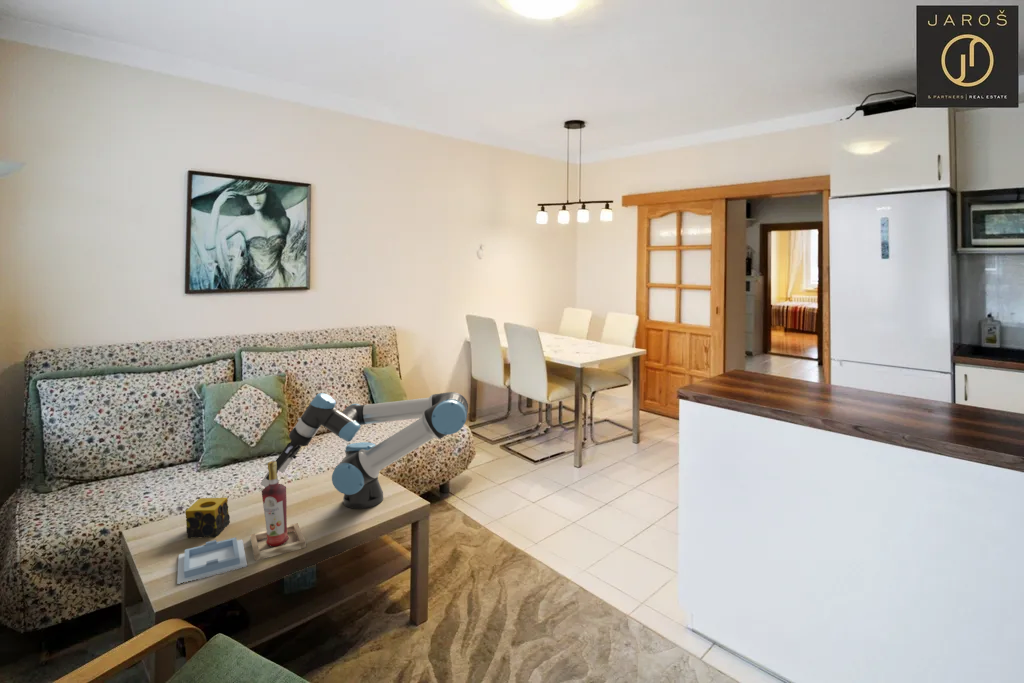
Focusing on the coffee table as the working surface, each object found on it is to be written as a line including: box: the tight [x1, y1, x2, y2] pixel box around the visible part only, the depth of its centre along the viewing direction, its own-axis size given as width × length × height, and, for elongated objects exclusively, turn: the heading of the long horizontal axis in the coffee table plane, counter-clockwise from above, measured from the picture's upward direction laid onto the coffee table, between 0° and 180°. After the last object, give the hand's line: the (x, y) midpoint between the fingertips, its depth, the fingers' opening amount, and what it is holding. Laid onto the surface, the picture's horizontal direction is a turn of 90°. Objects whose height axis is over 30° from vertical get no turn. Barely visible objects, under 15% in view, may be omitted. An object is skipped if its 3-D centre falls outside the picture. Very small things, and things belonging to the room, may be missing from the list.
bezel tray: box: [176, 537, 248, 585], centre depth 161 cm, size 18×18×3 cm
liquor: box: [261, 460, 290, 548], centre depth 169 cm, size 7×7×28 cm
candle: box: [184, 497, 231, 539], centre depth 180 cm, size 10×10×10 cm
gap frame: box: [249, 522, 307, 561], centre depth 171 cm, size 15×15×2 cm
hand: (272, 477), depth 188 cm, fingers open, 13 cm apart
